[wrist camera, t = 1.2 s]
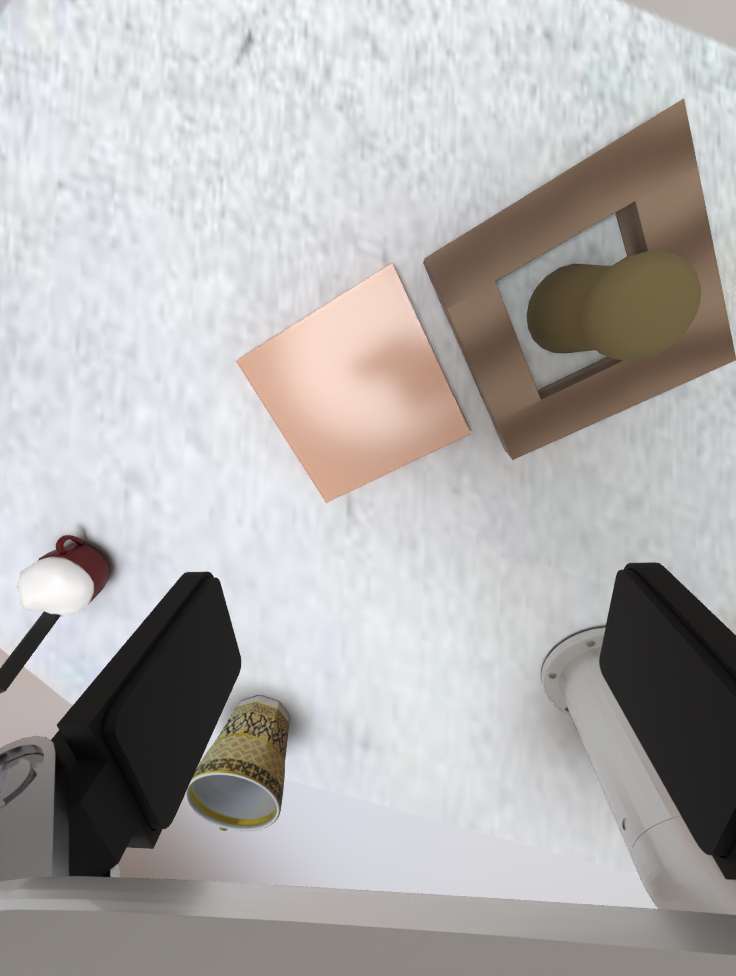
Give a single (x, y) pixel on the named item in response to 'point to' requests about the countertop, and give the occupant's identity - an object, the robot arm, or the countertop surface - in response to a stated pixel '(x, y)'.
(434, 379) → the terracotta tile
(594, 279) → the olive tall flared piece
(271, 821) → the ceramic cup
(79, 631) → the countertop surface
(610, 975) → the robot arm
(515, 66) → the countertop surface
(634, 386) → the frame
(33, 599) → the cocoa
